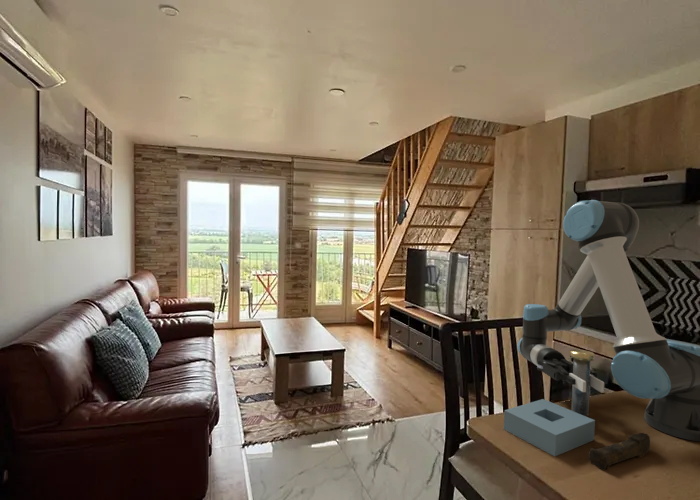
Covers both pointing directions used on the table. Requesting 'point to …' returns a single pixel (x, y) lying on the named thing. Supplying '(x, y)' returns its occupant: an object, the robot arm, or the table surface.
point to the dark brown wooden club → (620, 451)
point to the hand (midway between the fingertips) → (593, 387)
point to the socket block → (549, 426)
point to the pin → (582, 371)
